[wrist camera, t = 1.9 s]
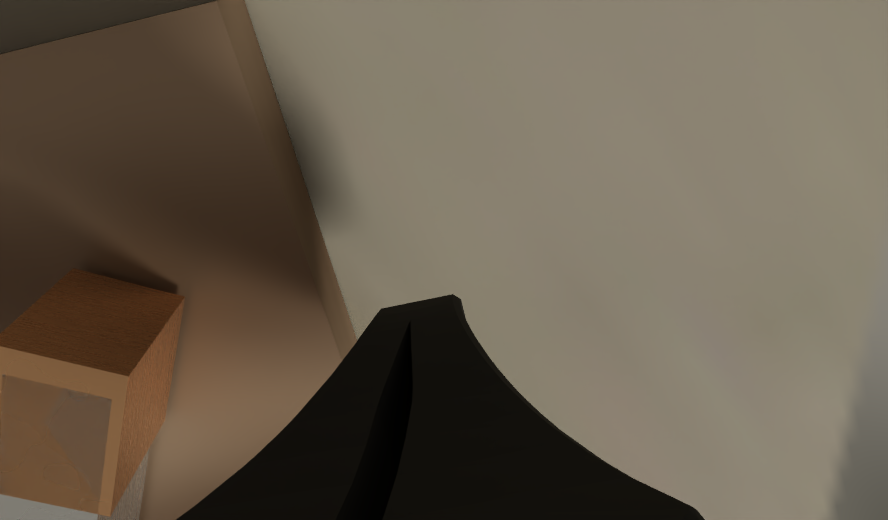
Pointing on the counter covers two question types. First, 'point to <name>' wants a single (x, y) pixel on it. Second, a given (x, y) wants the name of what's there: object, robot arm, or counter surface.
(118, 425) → the tongs swing arm
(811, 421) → the counter surface
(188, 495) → the walnut board
